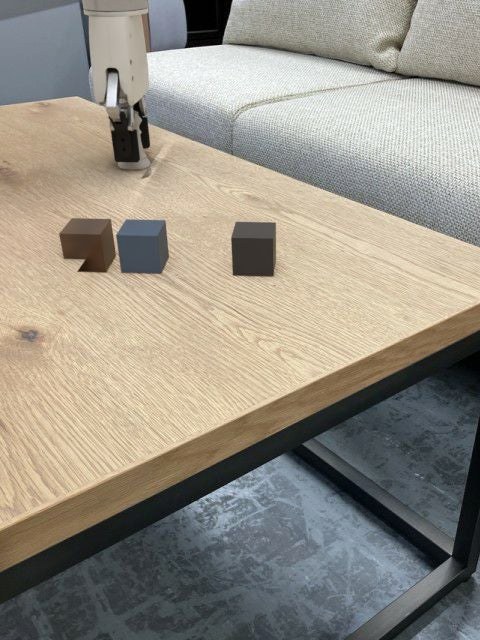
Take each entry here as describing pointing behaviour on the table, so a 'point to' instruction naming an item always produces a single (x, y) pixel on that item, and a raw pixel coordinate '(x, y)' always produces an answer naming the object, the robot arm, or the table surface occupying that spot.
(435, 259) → the table surface
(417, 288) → the table surface
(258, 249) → the block
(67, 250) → the block
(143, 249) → the block
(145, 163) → the rook chess piece
